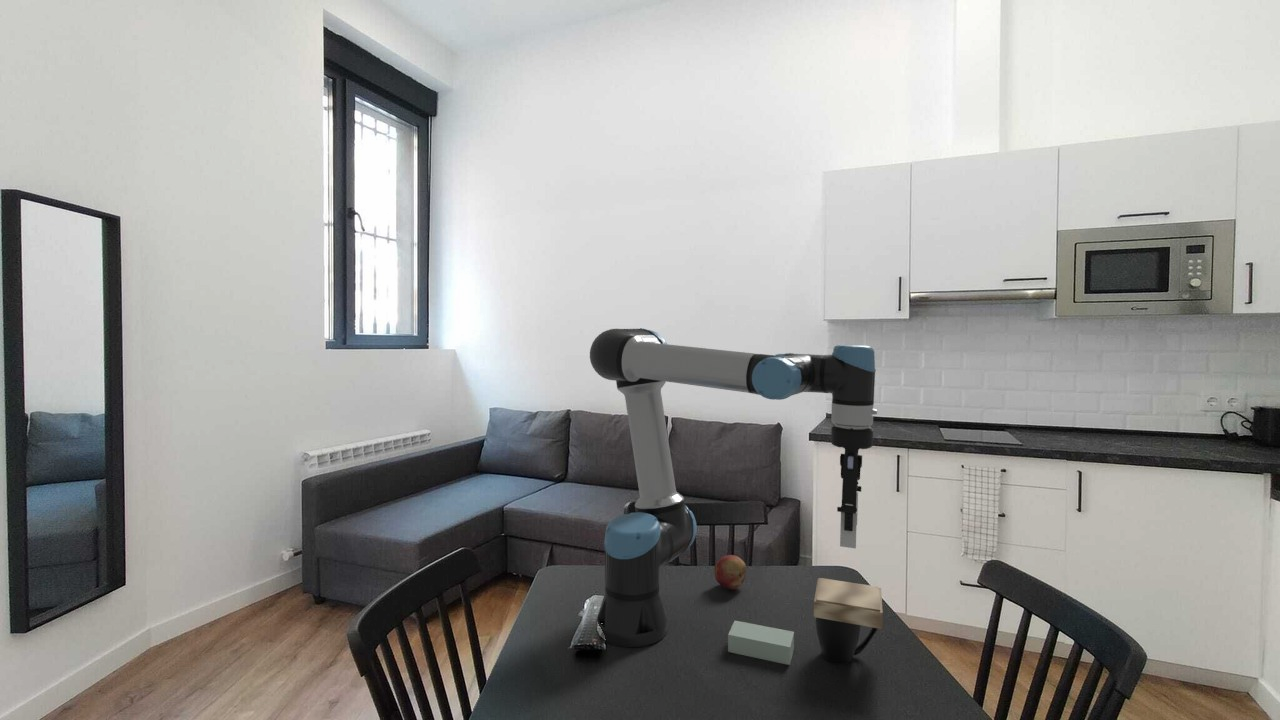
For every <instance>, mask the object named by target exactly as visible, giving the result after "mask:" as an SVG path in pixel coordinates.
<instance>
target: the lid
mask: <svg viewBox="0 0 1280 720" xmlns="http://www.w3.org/2000/svg"><path fill="white" fill-rule="evenodd" d="M883 613H884V611H883V599H882V588H881V587H880V586H876V585H875V586H874V585H869V584H862V583H856V582H850V581H844V580H843V581H842V580H836V579H830V578H825V577H824V578H823V577H818V578H817V582H816V588H815V594H814V600H813V617H814V618H816V617H817V618H823V619H828V620H834V621H839V622H845V623H851V624H856V625H860V626H864V627H867V628H869V627H870V628H872V627H873V628H878V630H879V629H880V630H883V622H884V621H883V618H884V615H883Z"/></svg>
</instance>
